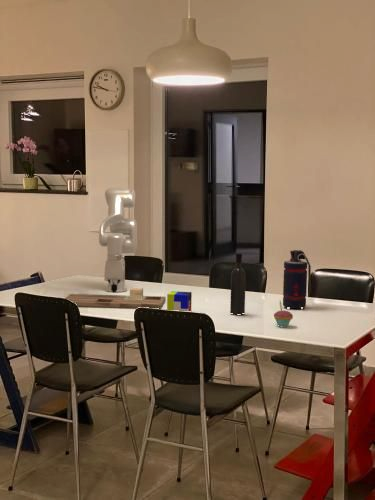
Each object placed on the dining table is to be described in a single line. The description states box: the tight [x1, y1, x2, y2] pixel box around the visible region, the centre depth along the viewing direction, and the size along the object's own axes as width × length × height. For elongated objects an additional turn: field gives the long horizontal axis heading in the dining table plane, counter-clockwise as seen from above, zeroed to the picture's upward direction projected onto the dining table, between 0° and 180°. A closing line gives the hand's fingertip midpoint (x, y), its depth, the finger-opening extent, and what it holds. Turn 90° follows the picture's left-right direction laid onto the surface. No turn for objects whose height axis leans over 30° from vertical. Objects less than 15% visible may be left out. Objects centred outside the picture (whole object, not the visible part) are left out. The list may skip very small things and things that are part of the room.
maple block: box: [129, 287, 144, 299], centre depth 355 cm, size 6×6×5 cm
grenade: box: [282, 249, 312, 309], centre depth 347 cm, size 14×12×30 cm
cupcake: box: [273, 300, 294, 327], centre depth 303 cm, size 9×8×12 cm
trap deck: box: [64, 293, 167, 310], centre depth 352 cm, size 24×52×2 cm, turn 86°
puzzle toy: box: [166, 290, 192, 312], centre depth 329 cm, size 10×10×10 cm
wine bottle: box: [229, 252, 247, 314], centre depth 328 cm, size 6×6×30 cm
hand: (114, 291), depth 358 cm, fingers closed
